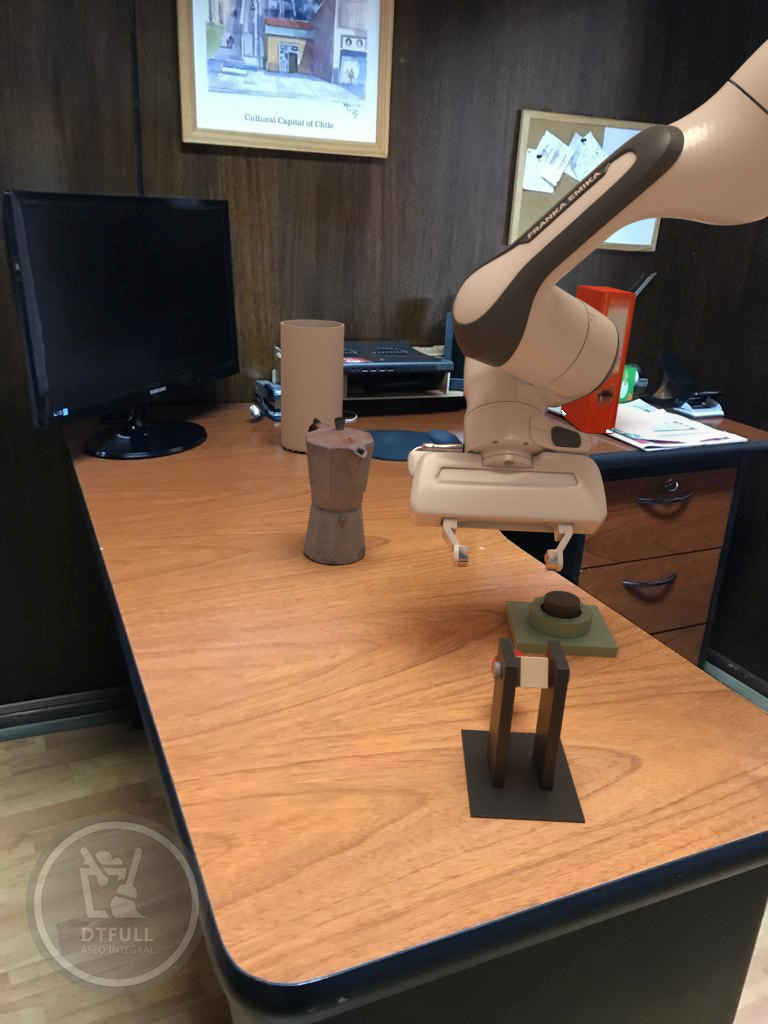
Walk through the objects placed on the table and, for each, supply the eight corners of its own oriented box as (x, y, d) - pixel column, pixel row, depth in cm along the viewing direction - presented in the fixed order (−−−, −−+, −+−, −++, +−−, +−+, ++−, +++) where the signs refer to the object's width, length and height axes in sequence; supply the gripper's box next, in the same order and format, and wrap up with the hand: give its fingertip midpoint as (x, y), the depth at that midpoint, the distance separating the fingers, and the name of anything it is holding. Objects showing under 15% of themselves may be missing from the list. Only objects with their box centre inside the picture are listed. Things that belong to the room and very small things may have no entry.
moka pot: (333, 579, 102) (335, 432, 95) (276, 540, 113) (275, 406, 106) (391, 564, 107) (397, 423, 100) (331, 528, 119) (333, 399, 112)
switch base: (460, 739, 71) (471, 616, 67) (557, 744, 71) (575, 621, 67) (469, 827, 61) (483, 688, 56) (583, 833, 61) (606, 695, 56)
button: (574, 604, 90) (576, 591, 89) (581, 621, 86) (583, 607, 86) (540, 603, 90) (541, 589, 89) (546, 619, 86) (547, 605, 86)
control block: (594, 621, 94) (599, 591, 93) (615, 665, 85) (620, 633, 83) (504, 616, 94) (507, 587, 93) (515, 660, 85) (518, 628, 83)
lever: (488, 686, 74) (489, 647, 74) (526, 688, 74) (527, 649, 74) (511, 694, 61) (512, 648, 61) (556, 697, 61) (557, 650, 61)
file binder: (590, 416, 198) (609, 286, 186) (615, 433, 182) (636, 292, 170) (560, 415, 197) (576, 285, 186) (581, 433, 181) (600, 291, 170)
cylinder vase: (269, 443, 161) (268, 321, 153) (318, 435, 169) (319, 318, 160) (303, 458, 153) (304, 329, 144) (353, 448, 160) (357, 326, 152)
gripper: (409, 427, 80) (404, 550, 75) (605, 436, 80) (616, 560, 75) (406, 456, 86) (402, 573, 80) (590, 464, 86) (599, 582, 80)
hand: (507, 567), depth 78 cm, fingers open, 8 cm apart
